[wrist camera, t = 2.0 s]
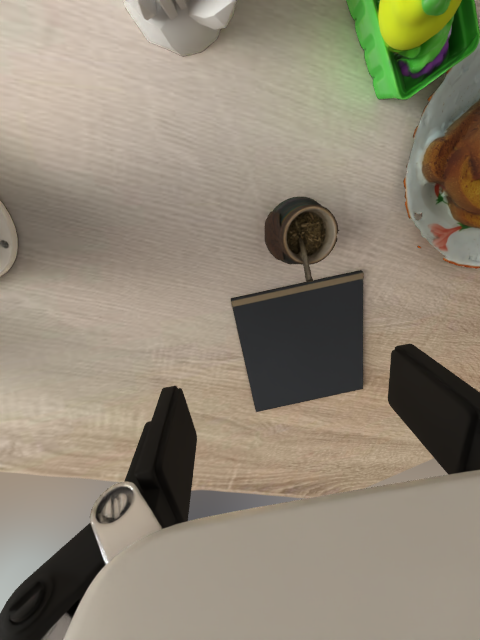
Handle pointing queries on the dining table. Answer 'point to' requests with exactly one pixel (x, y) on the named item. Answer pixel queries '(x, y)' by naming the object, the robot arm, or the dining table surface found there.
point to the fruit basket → (413, 41)
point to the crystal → (181, 22)
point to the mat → (302, 340)
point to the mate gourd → (301, 232)
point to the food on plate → (449, 166)
